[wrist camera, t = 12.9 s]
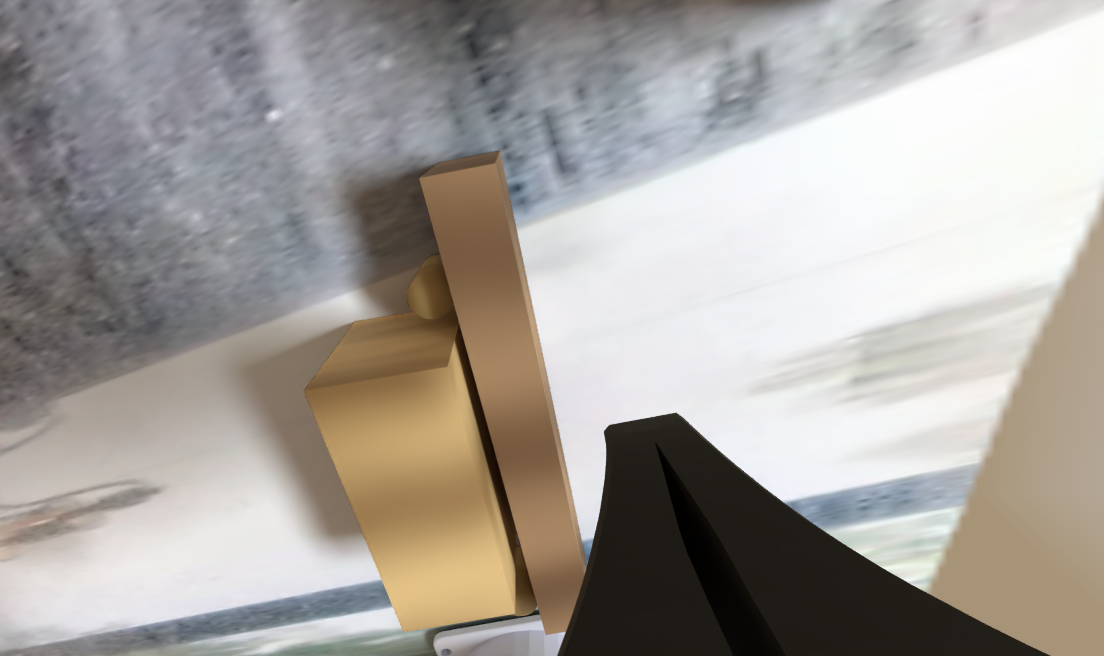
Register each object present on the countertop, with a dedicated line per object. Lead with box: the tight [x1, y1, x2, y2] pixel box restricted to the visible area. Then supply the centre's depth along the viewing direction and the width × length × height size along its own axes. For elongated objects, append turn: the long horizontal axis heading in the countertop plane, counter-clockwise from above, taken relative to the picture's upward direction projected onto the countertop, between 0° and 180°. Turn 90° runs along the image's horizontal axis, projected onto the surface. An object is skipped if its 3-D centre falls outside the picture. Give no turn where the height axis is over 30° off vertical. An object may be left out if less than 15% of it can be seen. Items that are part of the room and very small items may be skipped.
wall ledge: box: [406, 151, 587, 635], centre depth 19 cm, size 18×4×4 cm, turn 10°
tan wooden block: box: [304, 305, 516, 632], centre depth 18 cm, size 10×4×5 cm, turn 9°
